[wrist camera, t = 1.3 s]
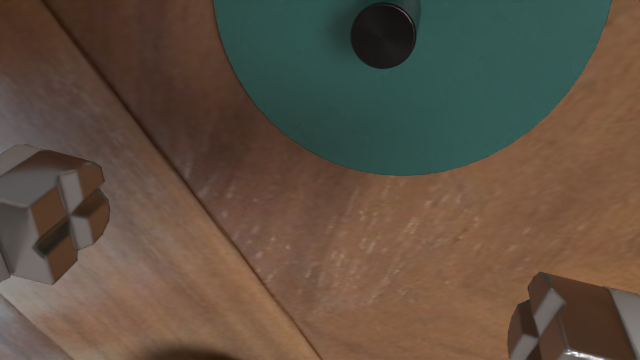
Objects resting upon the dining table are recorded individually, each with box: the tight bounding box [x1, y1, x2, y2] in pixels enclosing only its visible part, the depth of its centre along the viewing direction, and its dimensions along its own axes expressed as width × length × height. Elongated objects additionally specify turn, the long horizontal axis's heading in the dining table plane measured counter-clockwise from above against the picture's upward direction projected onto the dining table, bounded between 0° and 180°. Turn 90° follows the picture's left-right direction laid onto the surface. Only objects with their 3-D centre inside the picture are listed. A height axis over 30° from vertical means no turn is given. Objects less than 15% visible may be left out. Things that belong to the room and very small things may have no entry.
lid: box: [213, 0, 612, 176], centre depth 18 cm, size 17×17×5 cm
